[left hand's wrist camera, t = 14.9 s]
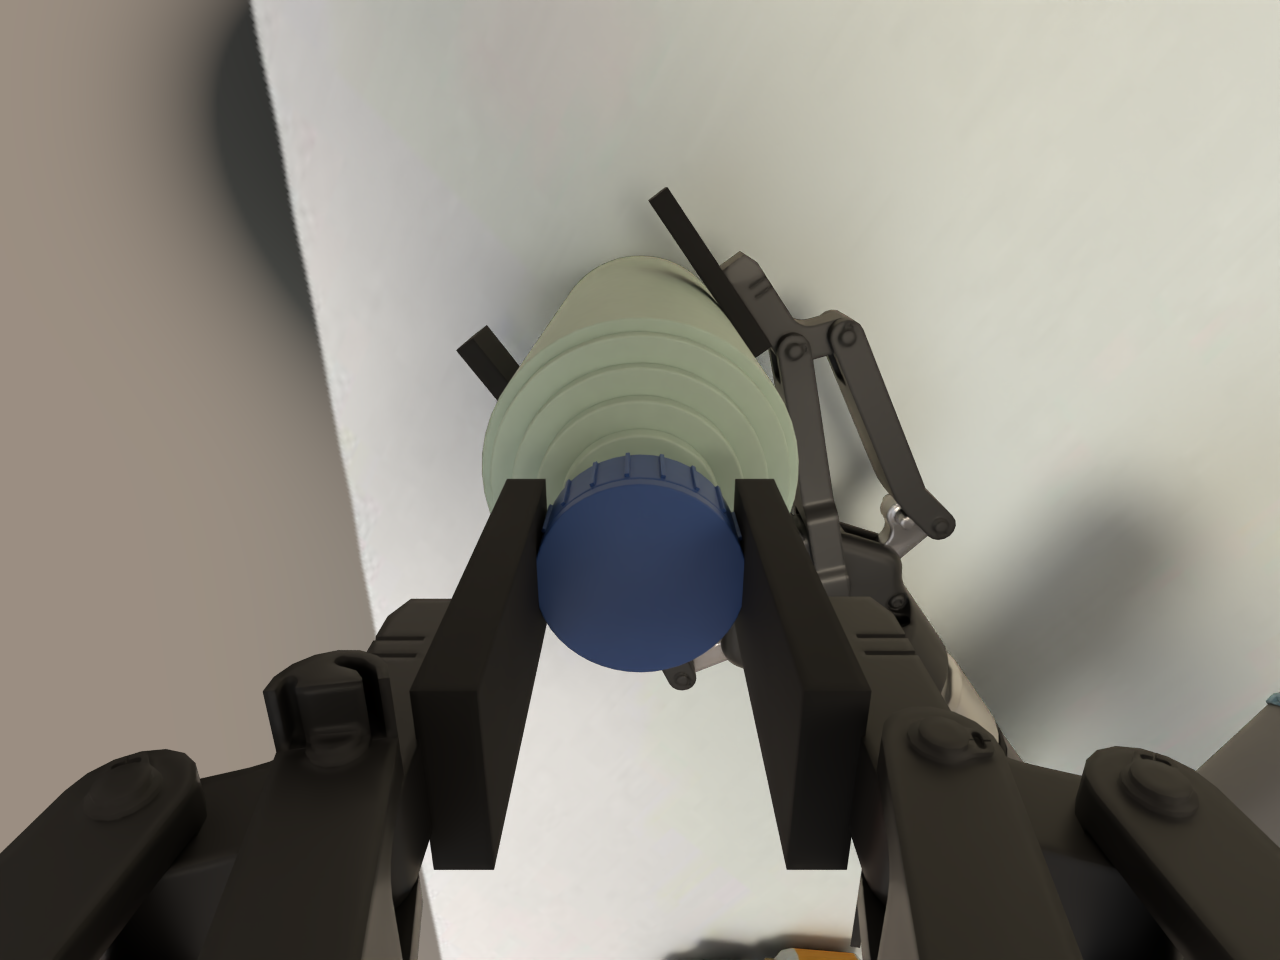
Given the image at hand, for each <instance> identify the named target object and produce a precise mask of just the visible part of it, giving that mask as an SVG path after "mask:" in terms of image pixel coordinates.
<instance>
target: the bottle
mask: <svg viewBox="0 0 1280 960" xmlns="http://www.w3.org/2000/svg"><path fill="white" fill-rule="evenodd" d="M626 453H630V455H639V454H641V455H655V456H660V454H664V457H666V458H669V459H672V460H675V461H678V462H681V463H683V464H685V465H687V466H689V467H691V466H692V465H693V466H695V467H696V471H697V472H699V473H701V474H702V475H703V476H704V477H706V478H707V479H708V480H709V481H710V482H711V483H712V484H713V485H714V486H715V487H716V486H717V485H718V486H719V487H720V489H721V493H722V496H723V498H724V499H725V500H726V502H727V504H728V506H729V508H730V510H731V512H733V511H734V491H735V479H774V480H775V482H776V484H777V487H778V489H779V491H780V493H781V495H782V497H783V500H784V502H785V504H786V506H787V508H788V510H789V513H790V512H791V509H792V505H793V502H794V499H795V494H796V488H797V483H798V466H799V459H798V449H797V440H796V436H795V432H794V428H793V424H792V421H791V419H790V416H789V414H788V411H787V409H786V406H785V404H784V402H783V400H782V398H781V397H780V395H779V393H778V392H777V390H776V388H775V386H774V385H773V383H772V382H771V381H770V379H769V378H768V376H767V375H766V373H765V372H764V370H763V369H762V367H761V366H760V364H759V363H758V362H757V360H756V359H755V357H754V356H753V354H752V353H751V351H750V350H749V348H748V347H747V345H746V344H745V343H744V341H743V340H742V338H741V337H740V335H739V334H738V332H737V331H736V329H735V328H734V327H733V325H732V324H731V322H730V321H729V319H728V318H727V317H726V315H725V314H724V312H723V311H722V309H721V308H720V306H719V305H718V303H717V302H716V300H715V299H714V297H713V296H712V295H711V293H710V292H709V290H708V289H707V288H706V287H705V285H704V284H703V283H702V282H701V281H700V280H699V279H698V278H697V277H696V276H695V275H693V274H692V273H691V272H689V271H688V270H687V269H685V268H683V267H681V266H679V265H678V264H676V263H673V262H671V261H668V260H665V259H661V258H657V257H651V256H629V257H624V258H619V259H616V260H613V261H610V262H607V263H605V264H603V265H601V266H599V267H597V268H596V269H594V270H593V271H591V272H590V273H588V274H587V275H586V276H585V277H584V278H583V279H581V280H580V281H579V282H578V284H577V285H576V286H575V287H574V288H573V289H572V291H571V292H570V294H569V295H568V297H567V298H566V300H565V301H564V303H563V304H562V305H561V307H560V308H559V310H558V311H557V313H556V314H555V316H554V317H553V319H552V320H551V322H550V323H549V325H548V326H547V327H546V329H545V330H544V332H543V333H542V335H541V336H540V338H539V339H538V341H537V342H536V344H535V345H534V346H533V348H532V349H531V351H530V352H529V354H528V355H527V357H526V358H525V360H524V361H523V363H522V364H521V366H520V367H519V368H518V370H517V371H516V373H515V374H514V376H513V377H512V379H511V380H510V382H509V383H508V385H507V386H506V388H505V389H504V391H503V392H502V394H501V396H500V397H499V399H498V401H497V404H496V406H495V408H494V410H493V412H492V414H491V417H490V420H489V424H488V427H487V430H486V434H485V439H484V446H483V452H482V477H483V485H484V493H485V496H486V500H487V504H488V507H489V511H490V513H491V512H492V510H493V508H494V506H495V503H496V501H497V499H498V497H499V495H500V493H501V490H502V488H503V486H504V484H505V482H506V480H507V479H546V496H547V510H548V507H549V504H551V505H553V504H554V501H555V500H556V498H557V497H558V495H559V494H560V493H561V491H562V490H563V489H564V488H565V484H566V481H567V480H568V479H570V480H571V481H572V480H573V479H574V478H575V477H576V476H577V475H579V474H580V473H582V472H583V471H585V470H586V469H588V468H589V467H591V466H593V462H596V461H597V462H598V463H600V462H602V461H605V460H608V459H612V458H615V457H620V456H625V454H626Z"/></svg>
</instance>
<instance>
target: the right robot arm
mask: <svg viewBox="0 0 1280 960" xmlns="http://www.w3.org/2000/svg"><path fill="white" fill-rule="evenodd" d="M648 201H649V202H650V204H651V205H652V207H653V208H654V210H655V211H656V213H657V214H658V216H659V217H660V219H661V220H662V222H663V223H664V225H665V226H666V228H667V229H668V231H669V232H670V234H671V235H672V237H673V238H674V240H675V241H676V243H677V244H678V246H679V247H680V248H681V250H682V251H683V253H684V254H685V256H686V257H687V259H688V260H689V262H690V263H691V265H692V266H693V268H694V269H695V271H696V272H697V274H698V275H699V277H700V278H701V280H702V281H703V283H704V284H705V286H706V287H707V289H708V290H709V292H710V293H711V295H712V296H713V297H714V299H715V300H716V302H717V303H718V305H719V306H720V308H721V309H722V311H723V312H724V314H725V315H726V317H727V318H728V319H729V321H730V322H731V324H732V325H733V327H734V328H735V329H736V331H737V332H738V334H739V335H740V337H741V338H742V340H743V341H744V343H745V344H746V345H747V347H748V348H749V350H750V351H751V353H752V354H753V356H754V357H755V358H756V357H757V356H759V355H760V354H762V353H763V352H764V351H766V350H767V349H769V355H770V361H771V367H772V373H773V379H774V384H775V388H776V390H777V392H778V393H779V395H780V397H781V398H782V400H783V402H784V404H785V406H786V409H787V411H788V414H789V416H790V419H791V421H792V424H793V428H794V432H795V436H796V440H797V449H798V459H799V466H798V483H797V488H796V494H795V499H794V502H793V506H794V512H795V515H792V513H791V512H790V515H791V517H792V519H793V521H794V523H795V526H796V528H797V530H798V532H799V534H800V536H801V539H802V541H803V543H804V545H805V547H806V549H807V552H808V554H809V556H810V558H811V560H812V563H813V565H814V567H815V569H816V571H817V573H818V576H819V578H820V580H821V582H822V584H823V586H824V589H825V591H826V593H827V595H828V597H871V598H873V599H874V600H875V601H877V602H878V603H879V604H881V605H882V606H883V607H885V608H886V609H887V610H889V611H890V612H891V613H893V614H894V616H895V617H896V619H897V621H898V622H899V624H900V626H901V628H902V629H903V631H904V633H905V637H906V638H908V639H909V641H910V643H911V644H912V646H913V648H914V649H915V654H916V655H918V656H919V658H920V659H921V661H922V663H923V664H924V666H925V668H926V669H927V671H928V673H929V675H930V676H931V678H932V680H933V681H934V683H935V685H936V686H937V688H938V690H939V691H940V693H941V695H942V696H943V698H944V700H945V701H946V703H947V705H948V706H949V708H950V710H951V711H953V712H956V713H958V714H960V715H962V716H965V717H967V718H969V719H971V720H973V721H975V722H977V723H978V724H979V725H981V726H982V727H983V728H984V729H986V730H987V731H988V732H989V733H991V734H992V735H993V736H994V737H995V739H996V740H997V742H998V743H999V745H1000V746H1001V748H1002V749H1003V751H1004V753H1005V756H1007V757H1009V758H1011V759H1014V760H1017V761H1021V762H1023V761H1022V760H1021V758H1020V757H1019V756H1018V754H1017V753H1016V752H1015V750H1014V749H1013V747H1012V746H1011V745H1010V743H1009V742H1008V740H1007V739H1006V738H1005V736H1004V735H1003V734H1002V732H1001V730H1000V728H999V727H998V725H997V723H996V722H995V719H994V717H993V716H992V714H991V713H990V711H989V710H988V708H987V707H986V705H985V704H984V702H983V701H982V699H981V698H980V696H979V695H978V693H977V692H976V690H975V689H974V687H973V686H972V685H971V683H970V682H969V680H968V679H967V677H966V676H965V674H964V673H963V671H962V670H961V668H960V667H959V665H958V664H957V662H956V661H955V659H954V658H953V657H952V656H951V655H950V654H949V653H948V652H947V651H946V648H945V646H944V644H943V642H942V640H941V639H940V637H939V636H938V634H937V633H936V631H935V630H934V629H933V627H932V626H931V624H930V623H929V621H928V620H927V618H926V617H925V615H924V614H923V612H922V611H921V609H920V608H919V606H918V605H917V603H916V602H915V600H914V599H913V597H912V596H911V595H910V593H909V592H908V590H907V589H906V587H905V586H904V584H903V580H902V563H901V559H900V558H901V557H903V556H904V555H905V554H906V553H907V552H909V551H910V550H911V549H912V548H913V547H915V546H916V545H917V544H918V543H919V542H921V541H922V540H923V539H924V538H925V537H927V536H929V537H931V538H932V539H936V540H940V539H945V538H946V537H948V536H950V535H951V534H952V532H953V531H954V529H955V526H956V524H955V519H954V518H953V516H952V515H951V514H950V513H949V512H948V511H947V510H946V509H945V508H944V507H943V506H942V504H941V503H940V502H939V501H938V500H937V499H936V498H935V497H934V496H933V495H932V494H931V493H930V492H929V491H928V490H927V489H926V488H925V486H924V484H923V481H922V478H921V476H920V473H919V471H918V468H917V466H916V463H915V460H914V458H913V455H912V453H911V450H910V448H909V445H908V443H907V440H906V437H905V435H904V432H903V430H902V427H901V425H900V422H899V420H898V417H897V414H896V412H895V409H894V407H893V404H892V402H891V399H890V397H889V394H888V391H887V389H886V386H885V384H884V381H883V379H882V376H881V374H880V371H879V368H878V366H877V363H876V361H875V358H874V356H873V353H872V351H871V348H870V345H869V343H868V340H867V338H866V335H865V333H864V330H863V328H862V327H861V325H860V324H859V323H857V322H855V321H854V320H853V319H851V318H849V317H848V316H846V315H845V314H843V313H841V312H839V311H837V310H829V311H825V312H824V313H823V314H821V315H820V316H817V317H813V318H809V319H805V320H798V319H795V318H793V317H792V316H791V314H790V313H789V311H788V310H787V308H786V307H785V305H784V304H783V302H782V300H781V299H780V297H779V296H778V294H777V293H776V291H775V290H774V288H773V287H772V285H771V283H770V282H769V280H768V279H767V277H766V276H765V274H764V272H763V271H762V269H761V268H760V266H759V265H758V263H757V262H755V261H754V260H753V259H751V258H750V257H748V256H747V255H745V254H744V253H742V252H740V251H739V252H738V253H737V254H735V255H734V256H732V257H731V258H730V259H728V260H727V261H726V262H724V263H723V264H721V265H720V266H719V265H718V263H717V262H716V260H715V259H714V257H713V256H712V254H711V252H710V251H709V249H708V248H707V246H706V245H705V243H704V242H703V240H702V239H701V237H700V236H699V234H698V233H697V231H696V230H695V228H694V227H693V225H692V224H691V222H690V221H689V219H688V218H687V216H686V215H685V213H684V212H683V210H682V209H681V207H680V206H679V204H678V203H677V201H676V199H675V198H674V196H673V195H672V193H671V192H670V190H669V189H668V187H665V188H664V189H662V190H661V191H660V192H658V193H657V194H656V195H655V196H653V197H652V198H651V199H649V200H648ZM456 351H457V352H458V353H459V354H460V356H461V357H462V358H463V359H464V360H465V362H466V363H467V364H468V365H469V367H470V368H471V369H472V370H473V371H474V373H475V374H476V375H477V376H478V377H479V379H480V380H481V381H482V382H483V384H484V385H485V386H486V387H487V388H488V390H489V391H490V392H491V393H492V395H493V396H494V397H495V398H496V399H497V401H498V399H499V397H500V396H501V394H502V392H503V391H504V389H505V388H506V386H507V385H508V383H509V382H510V380H511V379H512V377H513V376H514V374H515V373H516V371H517V370H518V368H519V367H520V366H519V365H518V364H517V362H516V361H515V360H514V359H513V357H512V356H511V355H510V354H509V352H508V351H507V350H506V348H505V347H504V346H503V345H502V343H501V342H500V341H499V340H498V338H497V337H496V336H495V335H494V333H493V332H492V331H491V330H490V328H489V327H488V326H487V325H486V326H485V327H484V328H482V329H481V330H480V331H479V332H477V333H476V334H475V335H473V336H472V337H471V338H470V339H469V340H468V341H466V342H465V343H464V344H463V345H462V346H461V347H460V348H458V349H457V350H456ZM824 356H827V359H828V361H829V363H830V366H831V368H832V371H833V373H834V375H835V378H836V380H837V383H838V385H839V388H840V390H841V392H842V395H843V397H844V400H845V402H846V404H847V407H848V409H849V412H850V414H851V416H852V419H853V421H854V424H855V426H856V429H857V431H858V433H859V436H860V438H861V441H862V443H863V445H864V448H865V450H866V453H867V455H868V457H869V460H870V462H871V465H872V467H873V469H874V472H875V474H876V476H877V478H878V479H879V481H880V482H881V484H882V485H883V487H884V488H885V489H886V490H887V492H888V493H889V494H887V495H885V496H884V498H883V500H882V503H881V506H880V511H881V514H882V515H883V517H884V520H885V525H884V528H883V530H882V531H881V532H880V533H879V534H878V533H875V532H872V531H868V530H865V529H862V528H858V527H855V526H852V525H849V524H845V523H842V522H839V518H838V513H837V509H836V506H835V503H834V499H833V493H832V486H831V479H830V472H829V465H828V459H827V452H826V445H825V438H824V431H823V424H822V418H821V411H820V404H819V397H818V390H817V384H816V377H815V370H814V363H813V359H816V358H820V357H824ZM726 660H729V661H730V662H731V663H732V664H734V665H736V666H738V667H741V668H743V663H742V659H741V654H740V649H739V645H738V640H737V635H736V631H735V626H734V623H733V625H732V626H731V628H730V629H729V631H728V632H727V633H726V634H725V635H724V637H723V638H722V639H721V640H720V641H719V642H718V643H717V644H716V645H714V646H713V647H712V648H711V649H709V650H708V651H707V652H705V653H704V654H702V655H701V656H699V657H697V658H695V659H694V660H692V661H689V662H687V663H685V664H682V665H680V666H676V667H673V668H669V669H665V670H662V671H663V673H664V675H665V676H666V678H667V680H668V682H669V684H670V685H671V686H672V687H673V688H675V689H677V690H687V689H689V688H691V687H692V686H693V685H694V684H695V681H696V673H695V672H697V671H700V670H702V669H705V668H708V667H710V666H713V665H715V664H718V663H720V662H723V661H726ZM1266 703H1267V704H1268V705H1267V706H1266V707H1265V708H1264V709H1263V710H1262V711H1260V712H1259V713H1258V714H1257V715H1256V716H1255V717H1254V718H1253V719H1252V720H1251V721H1250V722H1249V723H1247V724H1246V725H1245V726H1244V727H1243V728H1242V729H1241V730H1240V731H1239V732H1238V733H1237V734H1236V735H1234V736H1233V737H1232V738H1231V739H1230V740H1229V741H1228V742H1227V743H1226V744H1225V745H1224V746H1223V747H1221V748H1220V749H1219V750H1218V751H1217V752H1216V753H1215V754H1214V755H1213V756H1212V757H1211V758H1210V759H1208V760H1207V761H1206V762H1205V763H1204V764H1203V765H1202V766H1201V767H1200V768H1199V769H1198V770H1197V771H1196V772H1198V773H1199V774H1200V775H1201V776H1203V777H1204V778H1205V779H1207V780H1208V781H1209V782H1211V783H1212V784H1213V785H1214V786H1216V787H1217V788H1218V789H1219V790H1220V791H1221V792H1222V793H1223V794H1224V795H1225V796H1226V797H1228V798H1229V799H1230V800H1231V801H1232V802H1233V803H1234V804H1235V805H1236V806H1237V807H1238V808H1239V809H1240V810H1241V811H1242V812H1243V813H1244V814H1245V815H1246V816H1247V817H1248V818H1249V819H1250V820H1251V821H1252V822H1253V823H1254V824H1256V825H1257V826H1258V827H1259V828H1260V829H1261V830H1262V831H1263V832H1264V833H1265V834H1266V835H1267V836H1268V837H1269V838H1270V839H1271V840H1272V841H1273V842H1274V843H1275V844H1276V845H1277V846H1278V847H1279V848H1280V693H1274V694H1273V695H1272V696H1270V697H1269V698H1268V699H1267V700H1266Z"/></svg>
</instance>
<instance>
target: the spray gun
mask: <svg viewBox="0 0 1280 960" xmlns="http://www.w3.org/2000/svg"><path fill="white" fill-rule="evenodd" d="M764 960H860V959H859V958H858V956H857V955H856V954H854V953H846V952H834V951H821V950H809V949H797V948H789V949H784V950H781V951H780V952H779V953H778V954H777V956H776V957H775V958H774V959H773V958H765V959H764Z"/></svg>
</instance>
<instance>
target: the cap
mask: <svg viewBox="0 0 1280 960" xmlns="http://www.w3.org/2000/svg"><path fill="white" fill-rule="evenodd" d="M541 532H543V535H542V539H541V542H540V546H539V550H538V553H537V556H536V562H537V581H538V598H539V608H540V611H541V613H542V615H543V617H544V619H545V621H546V622H547V624H548V625H549V627H550V629H551V630H552V631H553V632H554V634H555V635H556V636H557V637H558V638H559V639H560V640H561V641H562V642H563V643H564V644H565V645H566V646H567V647H568V648H570V649H571V650H573V651H574V652H575V653H577V654H578V655H580V656H582V657H584V658H585V659H587V660H589V661H591V662H594V663H596V664H599V665H601V666H604V667H608V668H611V669H615V670H621V671H627V672H653V671H659V670H665V669H669V668H673V667H676V666H680V665H682V664H685V663H687V662H689V661H692V660H694V659H695V658H697V657H699V656H701V655H702V654H704V653H705V652H707V651H708V650H709V649H711V648H712V647H713V646H714V645H716V644H717V643H718V642H719V641H720V640H721V639H722V638H723V637H724V635H725V634H726V633H727V632H728V631H729V629H730V628H731V626H732V625H733V623H734V622H735V620H736V618H737V617H738V614H739V612H740V610H741V607H742V594H743V577H744V554H743V550H742V547H741V543H740V541H741V540H742V535H741V532H740V529H739V525H738V522H737V518H736V515H735V512H731V510H730V508H729V506H728V504H727V502H726V500H725V499H724V498H723V496H722V493H721V489H720V487H719V486H718V485H717V486H716V487H715V486H714V485H713V484H712V483H711V482H710V481H709V480H708V479H707V478H706V477H704V476H703V475H702V474H701V473H699V472H697V471H696V467H695V466H693V465H692V466H691V467H689V466H687V465H685V464H683V463H681V462H678V461H675V460H672V459H669V458H666V457H664V454H660V456H655V455H641V454H639V455H630V453H626V454H625V456H620V457H615V458H612V459H608V460H605V461H602V462H600V463H598V462H597V461H596V462H593V466H591V467H589V468H588V469H586V470H585V471H583V472H582V473H580V474H579V475H577V476H576V477H575V478H574V479H573V480H572V481H571V480H570V479H568V480H567V481H566V484H565V488H564V489H563V490H562V491H561V493H560V494H559V495H558V497H557V498H556V500H555V501H554V504H553V505H551V504H549V507H548V510H547V513H546V516H545V520H544V523H543V527H542V530H541Z"/></svg>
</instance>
